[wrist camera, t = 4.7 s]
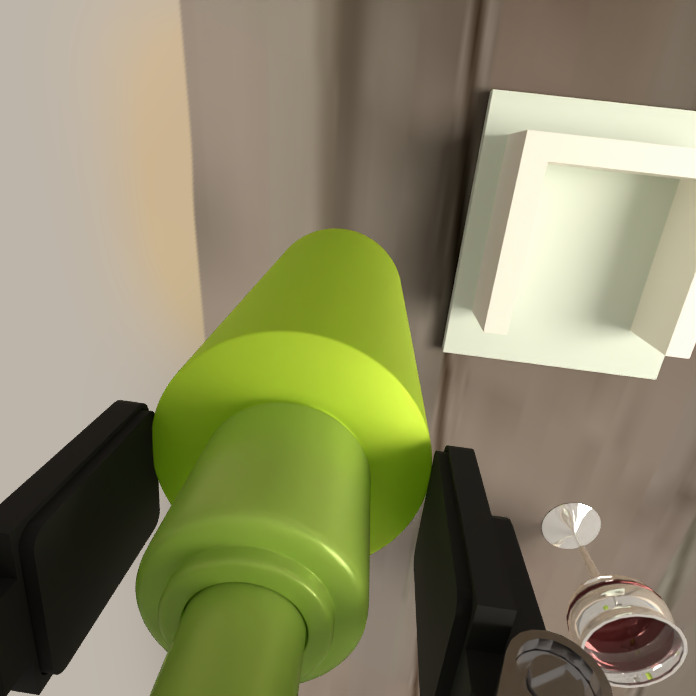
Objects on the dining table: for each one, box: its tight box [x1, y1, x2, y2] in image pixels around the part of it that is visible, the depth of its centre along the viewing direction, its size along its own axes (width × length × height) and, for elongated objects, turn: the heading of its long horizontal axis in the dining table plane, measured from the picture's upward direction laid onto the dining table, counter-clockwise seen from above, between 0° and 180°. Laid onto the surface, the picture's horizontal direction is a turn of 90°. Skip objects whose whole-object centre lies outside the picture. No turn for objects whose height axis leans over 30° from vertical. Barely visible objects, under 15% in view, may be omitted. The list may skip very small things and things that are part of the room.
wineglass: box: [542, 503, 687, 688], centre depth 38 cm, size 7×7×12 cm
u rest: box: [442, 89, 696, 380], centre depth 32 cm, size 18×16×6 cm
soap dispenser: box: [136, 229, 432, 696], centre depth 13 cm, size 6×7×20 cm
